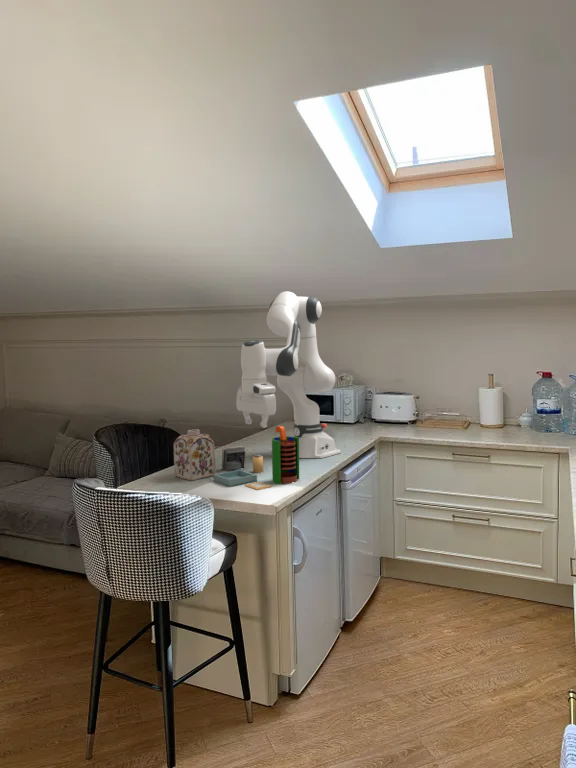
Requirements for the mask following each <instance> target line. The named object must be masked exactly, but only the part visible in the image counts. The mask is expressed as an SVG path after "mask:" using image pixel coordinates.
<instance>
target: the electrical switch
mask: <svg viewBox="0 0 576 768" xmlns="http://www.w3.org/2000/svg"><path fill="white" fill-rule="evenodd" d="M221 452H222V454H221V470H225V471H227V465H226V462H232V461H237V462H241V468H243V469H244V468H245V459H246V447H245V446H244V445H239V446H238V445H237V446H229V447H223V448H222V451H221Z"/></svg>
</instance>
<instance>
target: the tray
mask: <svg viewBox="0 0 576 768" xmlns="http://www.w3.org/2000/svg"><path fill="white" fill-rule="evenodd" d="M213 482H216V483H217V482H218V483H217V484H221V485H223V486H226V487H229V488H231V487H237V486H242V485H246V484H251V483H256V482H258V474H257V473H254V472H253V473H252V472H249V471H246V470H242V469H241V470H235V471H230V472H227V471H225V472H220V473H216V474H214V476H213Z"/></svg>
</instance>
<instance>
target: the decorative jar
mask: <svg viewBox="0 0 576 768" xmlns="http://www.w3.org/2000/svg"><path fill="white" fill-rule="evenodd" d="M173 464H174V465H173V467H174V477H175V476H177V478H179V477H180V479H183V480H186V479H187V481H190V480H191V482H192V480H193V481H196V480H201V479H206V478H210V477H214V474H217V473H216V472H217V471H216V450H215V441H214V440H213V439H212V437H211V436H210V434H207V433H201V430H200V429H189V430H187V434H181V435H179V436H178V437H177V438H176V439H175V441H174V442H173Z"/></svg>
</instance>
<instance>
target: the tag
mask: <svg viewBox="0 0 576 768" xmlns="http://www.w3.org/2000/svg"><path fill="white" fill-rule="evenodd" d="M244 486H245V487H247V488H250V489H253V490H256V491H259V490H264V489H269V488H272V486H271V485H270V484H267V483H264V482H260V481H257V482H252V483H247V484H244Z"/></svg>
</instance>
